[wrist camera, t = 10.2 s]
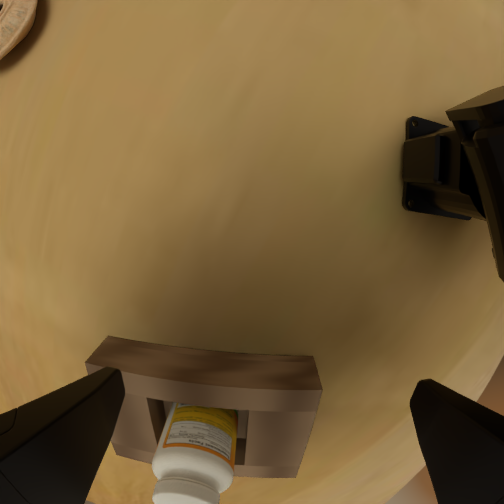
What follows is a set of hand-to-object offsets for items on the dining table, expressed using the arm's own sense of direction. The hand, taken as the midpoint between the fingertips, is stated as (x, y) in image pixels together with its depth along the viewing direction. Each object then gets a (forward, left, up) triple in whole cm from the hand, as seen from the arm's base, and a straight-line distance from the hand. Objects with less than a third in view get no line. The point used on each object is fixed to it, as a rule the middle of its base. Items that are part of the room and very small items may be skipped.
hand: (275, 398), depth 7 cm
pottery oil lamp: (+24, -23, -12) cm, 36 cm away
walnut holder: (+4, +12, -12) cm, 17 cm away
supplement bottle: (+4, +12, -11) cm, 17 cm away
